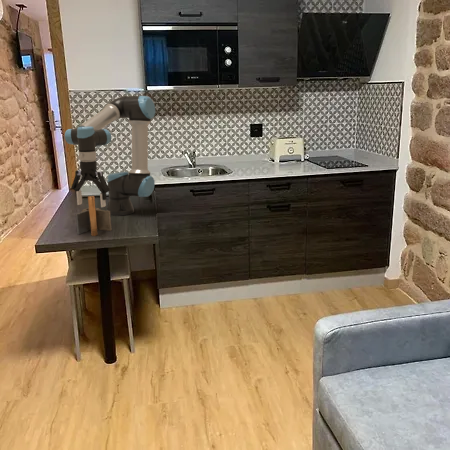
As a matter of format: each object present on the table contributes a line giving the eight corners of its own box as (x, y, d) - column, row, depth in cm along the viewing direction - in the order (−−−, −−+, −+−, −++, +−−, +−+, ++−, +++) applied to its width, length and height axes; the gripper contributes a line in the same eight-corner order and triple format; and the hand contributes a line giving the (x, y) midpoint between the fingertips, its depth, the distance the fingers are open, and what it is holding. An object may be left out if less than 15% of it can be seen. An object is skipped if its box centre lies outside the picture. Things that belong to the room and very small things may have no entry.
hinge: (91, 226, 242) (89, 207, 239) (114, 229, 237) (113, 209, 234) (73, 233, 229) (71, 213, 227) (97, 236, 224) (95, 216, 221)
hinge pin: (93, 233, 229) (90, 195, 224) (98, 234, 228) (95, 196, 223) (89, 235, 226) (86, 196, 221) (95, 236, 225) (91, 197, 220)
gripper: (60, 160, 219) (65, 204, 224) (105, 163, 209) (108, 209, 215) (71, 158, 225) (75, 201, 231) (115, 160, 216) (118, 205, 222)
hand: (91, 205), depth 223 cm, fingers open, 13 cm apart
